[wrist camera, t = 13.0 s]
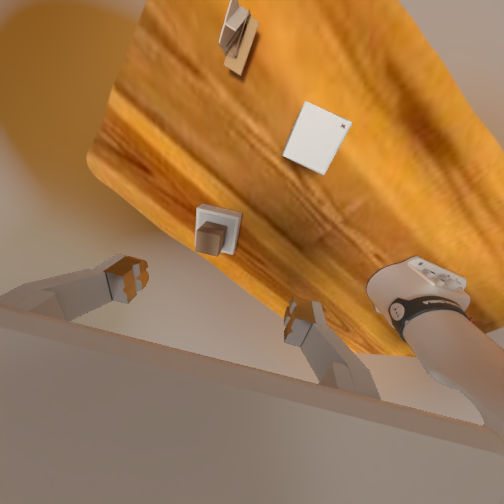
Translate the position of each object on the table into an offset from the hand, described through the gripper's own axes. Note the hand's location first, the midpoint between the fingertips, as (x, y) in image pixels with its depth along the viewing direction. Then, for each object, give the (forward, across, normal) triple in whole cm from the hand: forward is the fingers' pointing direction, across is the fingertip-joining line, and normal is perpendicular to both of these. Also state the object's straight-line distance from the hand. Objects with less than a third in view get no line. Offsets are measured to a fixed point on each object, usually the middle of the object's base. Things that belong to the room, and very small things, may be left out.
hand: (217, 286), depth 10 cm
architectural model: (+37, +9, -21) cm, 44 cm away
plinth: (+36, +9, +12) cm, 40 cm away
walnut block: (+32, +9, +12) cm, 36 cm away
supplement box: (+37, -6, -9) cm, 38 cm away
